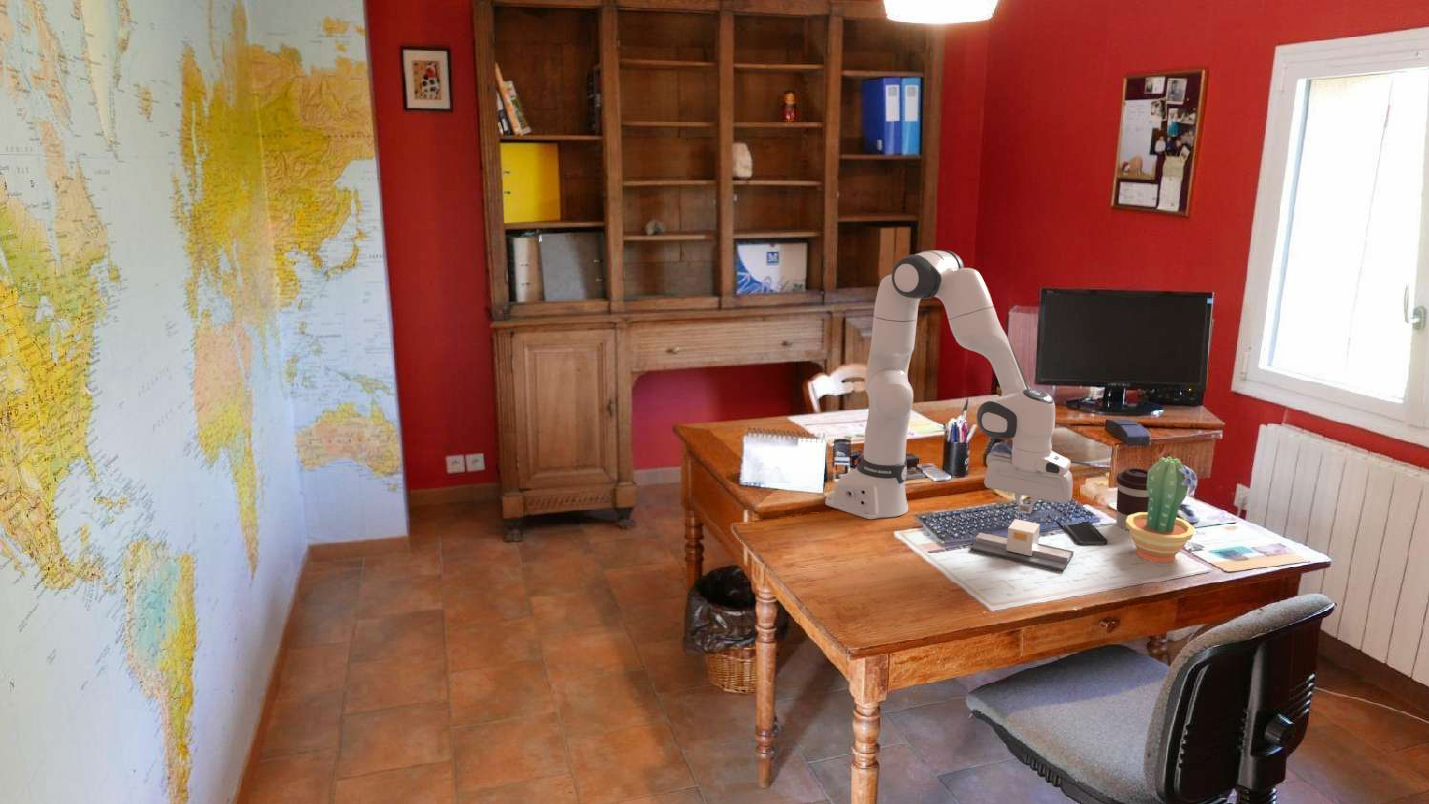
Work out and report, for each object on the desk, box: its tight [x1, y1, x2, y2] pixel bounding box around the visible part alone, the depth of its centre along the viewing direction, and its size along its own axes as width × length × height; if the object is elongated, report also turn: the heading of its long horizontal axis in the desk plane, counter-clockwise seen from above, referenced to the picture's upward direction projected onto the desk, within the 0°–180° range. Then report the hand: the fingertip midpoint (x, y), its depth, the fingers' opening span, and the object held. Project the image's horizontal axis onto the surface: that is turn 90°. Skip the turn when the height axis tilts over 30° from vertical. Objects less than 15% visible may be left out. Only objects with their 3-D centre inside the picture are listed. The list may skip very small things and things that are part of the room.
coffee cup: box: [1116, 467, 1149, 531], centre depth 251 cm, size 10×10×15 cm
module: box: [1006, 518, 1041, 556], centre depth 236 cm, size 6×6×6 cm
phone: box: [1063, 519, 1109, 546], centre depth 249 cm, size 8×1×15 cm
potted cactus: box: [1126, 455, 1198, 564], centre depth 234 cm, size 15×15×25 cm
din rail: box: [970, 532, 1075, 574], centre depth 237 cm, size 22×11×2 cm, turn 59°
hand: (1024, 511), depth 235 cm, fingers closed
